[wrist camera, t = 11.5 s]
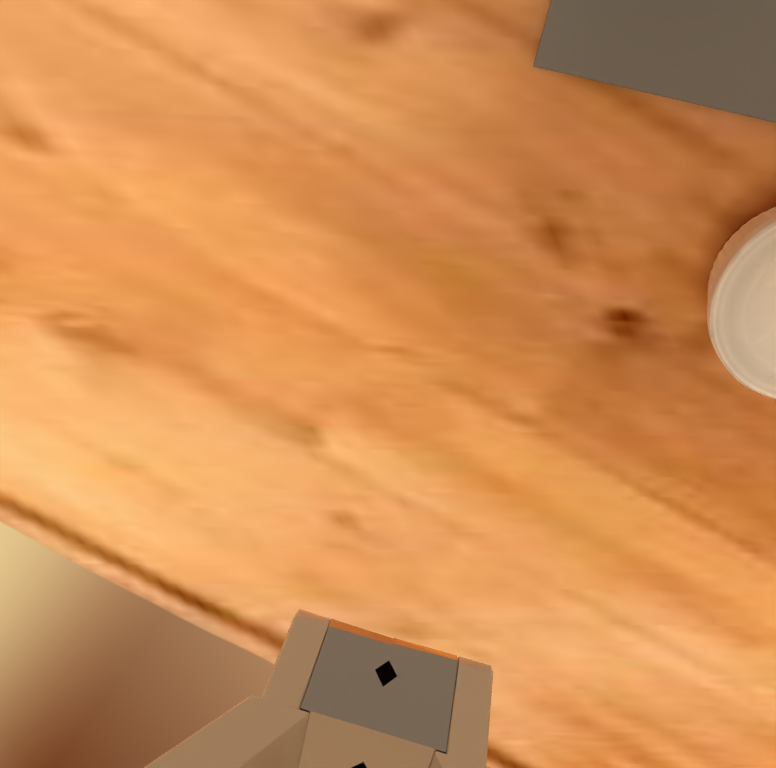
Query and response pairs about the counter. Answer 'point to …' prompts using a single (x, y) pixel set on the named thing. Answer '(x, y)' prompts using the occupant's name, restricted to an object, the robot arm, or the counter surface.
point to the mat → (670, 49)
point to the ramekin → (746, 304)
